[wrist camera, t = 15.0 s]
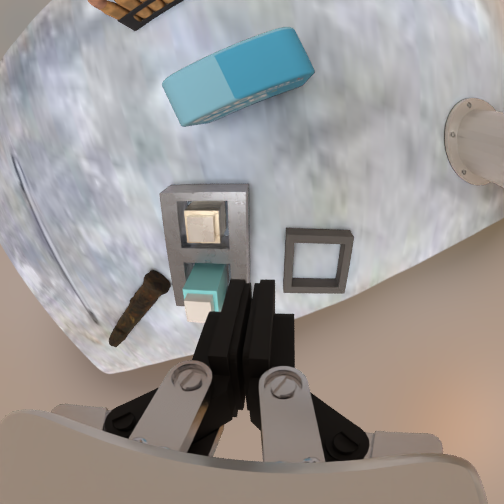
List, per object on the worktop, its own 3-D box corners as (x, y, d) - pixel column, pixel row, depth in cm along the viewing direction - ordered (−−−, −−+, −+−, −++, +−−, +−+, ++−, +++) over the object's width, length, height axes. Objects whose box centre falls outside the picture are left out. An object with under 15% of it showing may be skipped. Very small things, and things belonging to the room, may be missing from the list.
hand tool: (153, 264, 41) (141, 281, 37) (174, 281, 42) (164, 299, 38) (106, 324, 49) (96, 340, 44) (123, 336, 50) (113, 353, 45)
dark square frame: (349, 230, 36) (353, 237, 34) (341, 284, 40) (344, 293, 38) (286, 228, 37) (286, 234, 35) (283, 283, 41) (283, 292, 39)
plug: (227, 255, 39) (214, 299, 31) (229, 280, 41) (217, 326, 32) (199, 254, 40) (178, 297, 31) (202, 279, 41) (184, 324, 33)
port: (248, 183, 35) (244, 195, 30) (250, 292, 42) (246, 315, 37) (170, 185, 35) (155, 196, 31) (183, 289, 43) (173, 311, 38)
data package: (208, 123, 32) (176, 128, 21) (193, 91, 30) (155, 82, 19) (303, 85, 29) (318, 70, 18) (287, 52, 27) (294, 22, 16)
